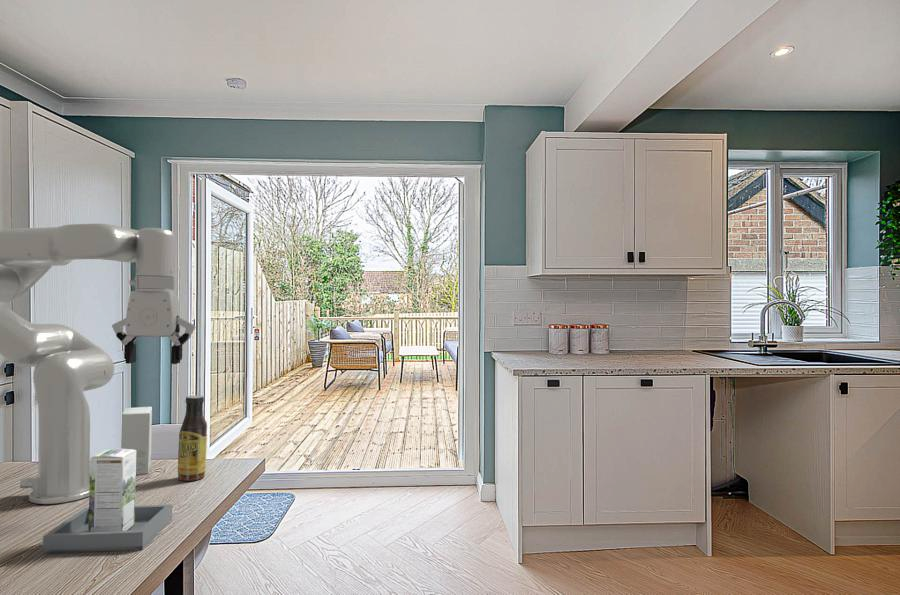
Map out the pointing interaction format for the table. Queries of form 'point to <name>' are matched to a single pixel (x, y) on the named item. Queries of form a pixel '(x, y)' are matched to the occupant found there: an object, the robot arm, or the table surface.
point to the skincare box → (138, 436)
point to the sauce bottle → (192, 441)
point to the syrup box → (112, 490)
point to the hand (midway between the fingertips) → (153, 363)
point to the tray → (107, 532)
